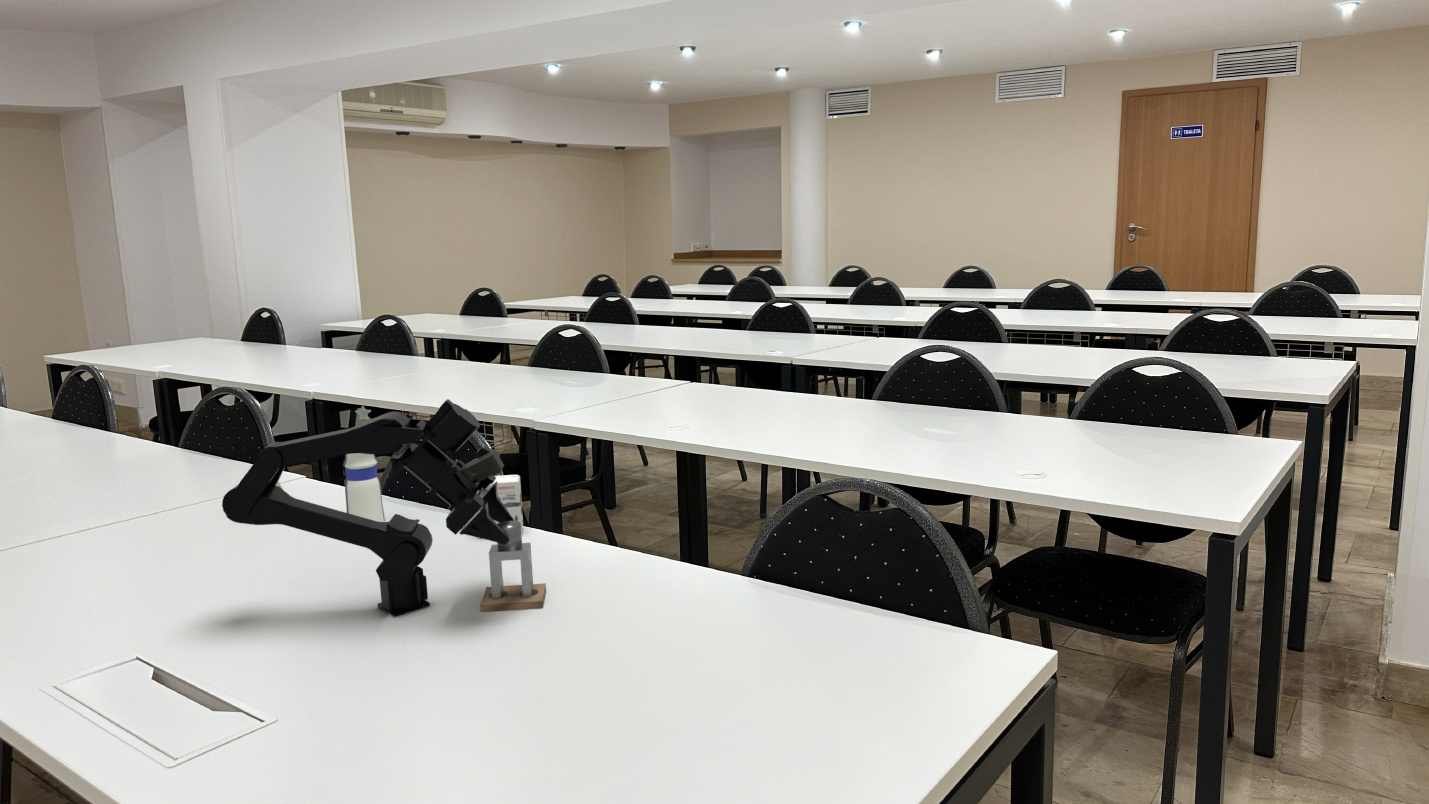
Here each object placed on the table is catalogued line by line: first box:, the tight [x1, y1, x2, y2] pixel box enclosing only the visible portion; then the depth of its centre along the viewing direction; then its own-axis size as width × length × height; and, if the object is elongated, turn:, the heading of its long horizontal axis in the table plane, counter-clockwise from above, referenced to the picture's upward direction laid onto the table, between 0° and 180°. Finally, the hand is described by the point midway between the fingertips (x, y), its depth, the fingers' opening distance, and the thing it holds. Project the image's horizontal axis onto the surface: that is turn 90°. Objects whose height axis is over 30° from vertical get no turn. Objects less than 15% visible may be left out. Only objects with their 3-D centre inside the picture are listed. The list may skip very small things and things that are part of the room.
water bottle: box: [342, 405, 386, 522], centre depth 205 cm, size 8×9×25 cm
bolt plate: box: [479, 583, 547, 613], centre depth 161 cm, size 10×8×1 cm
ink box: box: [489, 474, 524, 535], centre depth 196 cm, size 8×5×12 cm, turn 98°
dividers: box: [488, 521, 534, 599], centre depth 160 cm, size 6×4×12 cm, turn 96°
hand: (511, 533), depth 159 cm, fingers open, 9 cm apart
